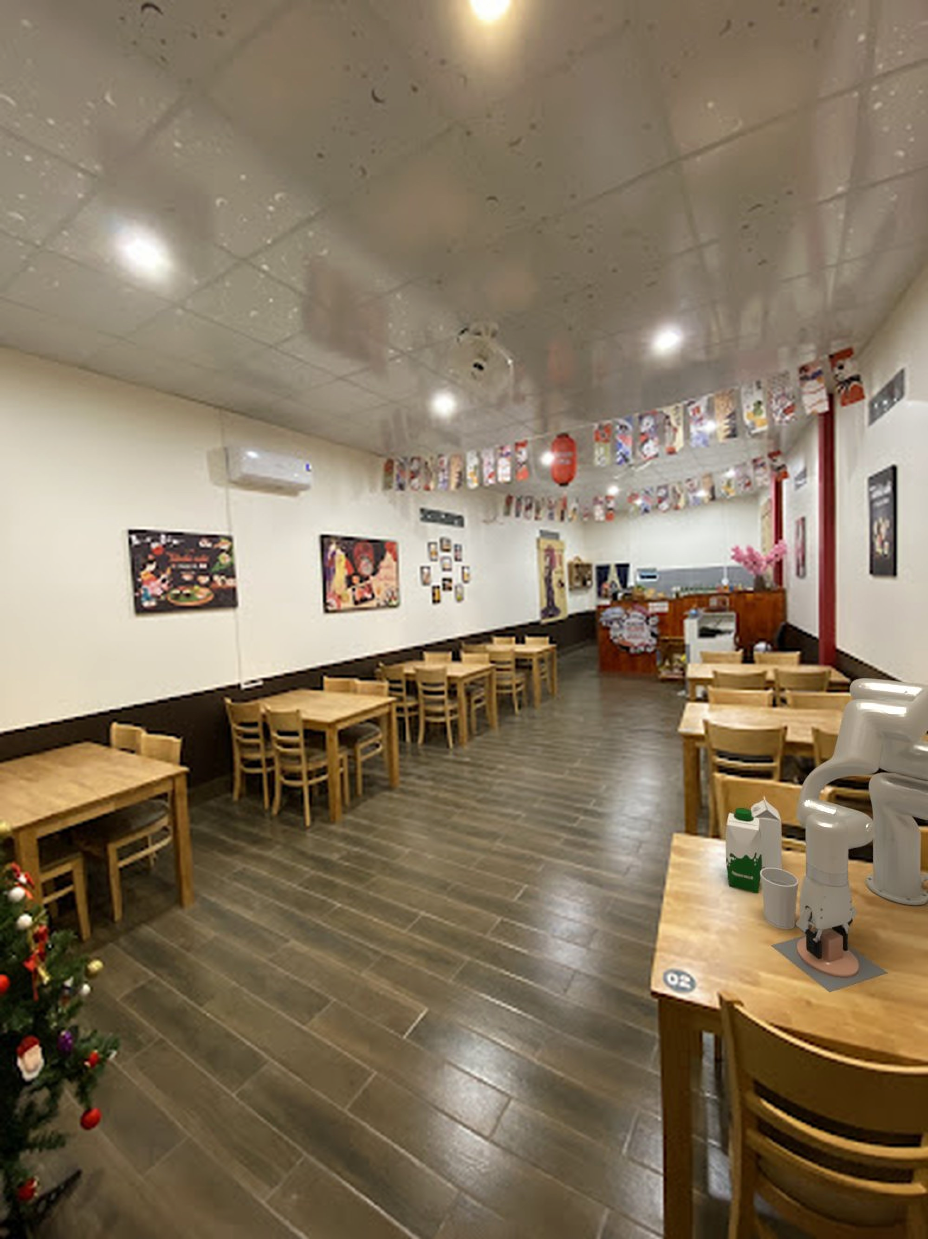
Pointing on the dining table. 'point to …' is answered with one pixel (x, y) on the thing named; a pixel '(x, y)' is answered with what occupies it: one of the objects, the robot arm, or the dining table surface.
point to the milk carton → (769, 834)
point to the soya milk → (743, 850)
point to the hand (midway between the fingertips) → (826, 950)
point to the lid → (830, 955)
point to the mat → (828, 982)
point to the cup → (779, 897)
